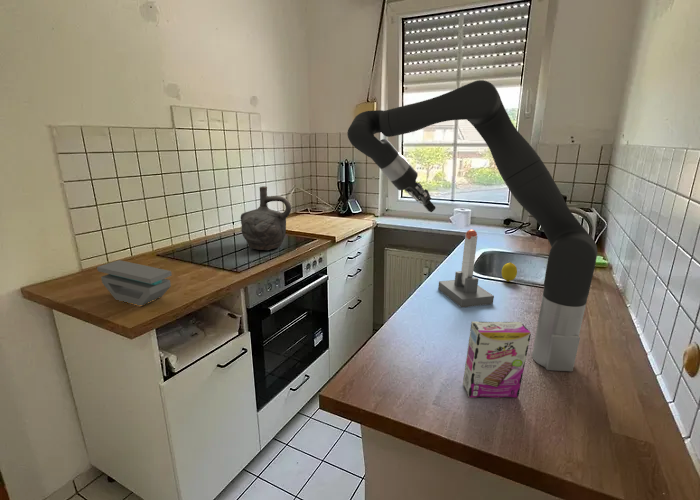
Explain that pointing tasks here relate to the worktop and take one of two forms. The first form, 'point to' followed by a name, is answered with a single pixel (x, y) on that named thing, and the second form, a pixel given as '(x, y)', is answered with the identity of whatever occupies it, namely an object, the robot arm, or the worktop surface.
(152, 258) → the worktop surface
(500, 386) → the candy bar box
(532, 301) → the worktop surface
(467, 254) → the lever
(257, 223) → the vessel
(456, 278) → the lever stand
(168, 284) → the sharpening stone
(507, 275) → the lemon
